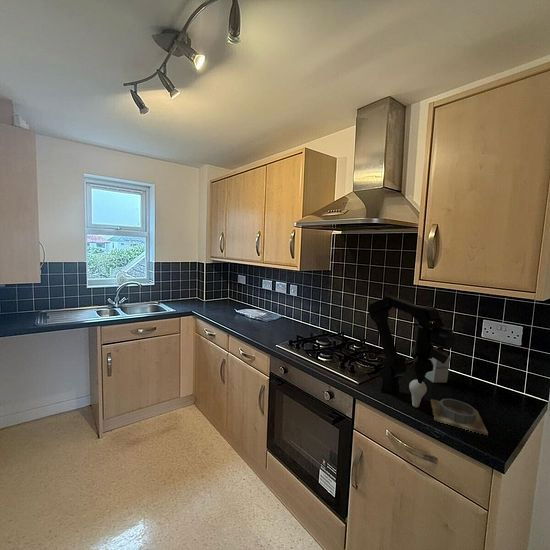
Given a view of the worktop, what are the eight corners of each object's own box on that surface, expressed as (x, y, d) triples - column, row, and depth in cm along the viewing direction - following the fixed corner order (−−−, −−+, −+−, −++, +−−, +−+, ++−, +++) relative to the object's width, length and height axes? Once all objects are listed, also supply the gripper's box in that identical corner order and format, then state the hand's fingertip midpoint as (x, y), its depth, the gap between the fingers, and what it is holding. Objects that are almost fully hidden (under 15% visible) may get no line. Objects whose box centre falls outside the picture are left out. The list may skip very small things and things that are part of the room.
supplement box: (433, 383, 140) (436, 357, 139) (423, 376, 147) (426, 351, 146) (447, 383, 141) (450, 357, 140) (436, 376, 148) (439, 351, 147)
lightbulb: (424, 413, 113) (427, 385, 112) (406, 408, 115) (410, 381, 114) (423, 405, 118) (427, 379, 117) (407, 401, 121) (410, 375, 120)
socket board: (434, 422, 107) (436, 411, 107) (430, 401, 122) (431, 392, 121) (487, 436, 101) (489, 424, 101) (476, 412, 116) (478, 402, 115)
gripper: (452, 351, 102) (446, 394, 104) (444, 337, 120) (439, 374, 121) (416, 345, 107) (411, 386, 108) (414, 332, 124) (409, 368, 125)
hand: (419, 378), depth 116 cm, fingers open, 9 cm apart
